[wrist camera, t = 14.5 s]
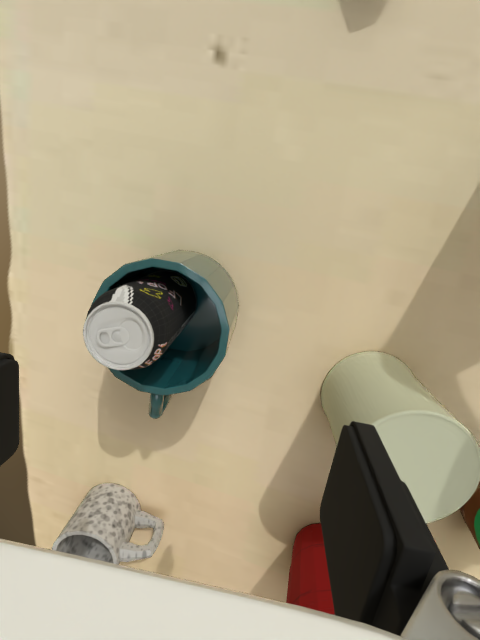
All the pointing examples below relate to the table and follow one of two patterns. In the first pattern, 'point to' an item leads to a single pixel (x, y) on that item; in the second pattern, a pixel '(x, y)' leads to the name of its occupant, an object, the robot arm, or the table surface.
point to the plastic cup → (310, 572)
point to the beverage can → (139, 320)
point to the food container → (473, 514)
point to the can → (406, 429)
